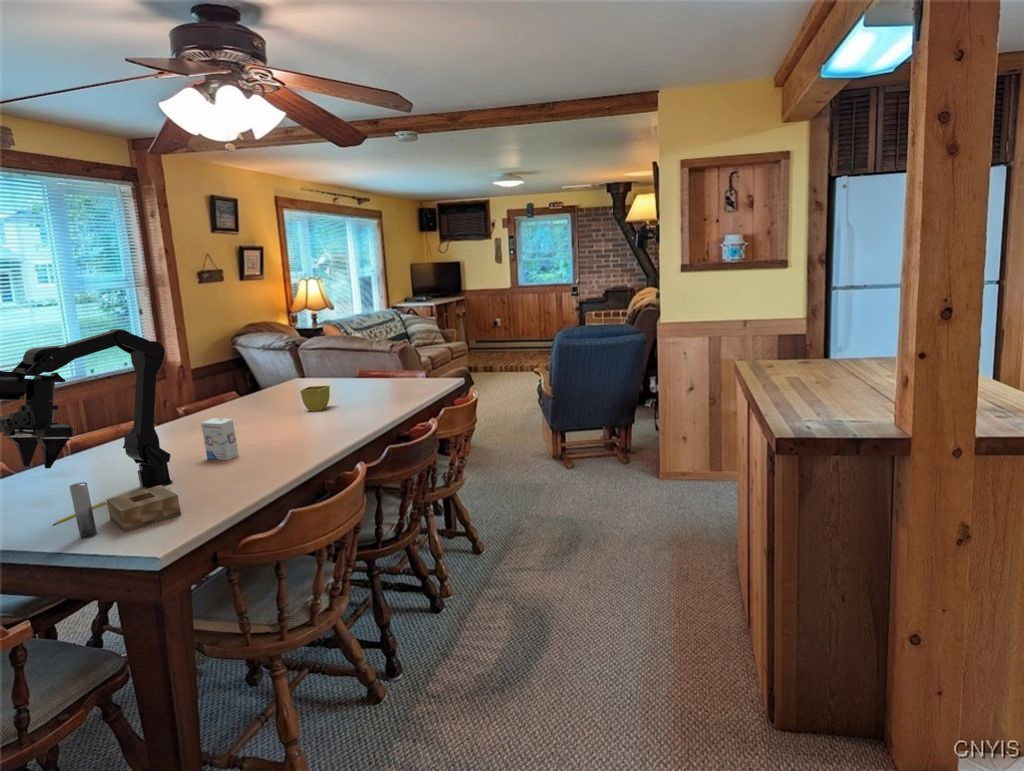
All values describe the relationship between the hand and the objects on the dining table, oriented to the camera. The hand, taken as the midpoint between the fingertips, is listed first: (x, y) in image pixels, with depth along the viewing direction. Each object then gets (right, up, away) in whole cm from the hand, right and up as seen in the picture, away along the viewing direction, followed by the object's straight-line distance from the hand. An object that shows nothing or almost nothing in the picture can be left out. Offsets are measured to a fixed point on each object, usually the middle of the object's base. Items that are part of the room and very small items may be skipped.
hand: (36, 467), depth 153 cm
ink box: (+22, -3, +48) cm, 53 cm away
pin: (+17, -14, -7) cm, 23 cm away
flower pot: (+34, +9, +107) cm, 113 cm away
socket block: (+25, -12, +2) cm, 27 cm away
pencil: (+6, -13, +7) cm, 16 cm away
